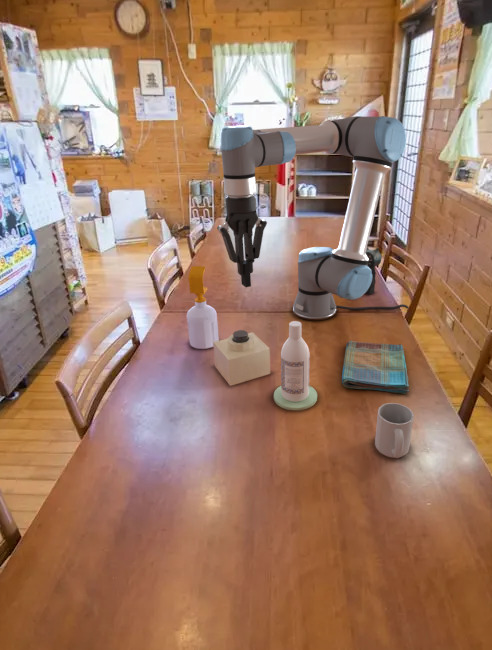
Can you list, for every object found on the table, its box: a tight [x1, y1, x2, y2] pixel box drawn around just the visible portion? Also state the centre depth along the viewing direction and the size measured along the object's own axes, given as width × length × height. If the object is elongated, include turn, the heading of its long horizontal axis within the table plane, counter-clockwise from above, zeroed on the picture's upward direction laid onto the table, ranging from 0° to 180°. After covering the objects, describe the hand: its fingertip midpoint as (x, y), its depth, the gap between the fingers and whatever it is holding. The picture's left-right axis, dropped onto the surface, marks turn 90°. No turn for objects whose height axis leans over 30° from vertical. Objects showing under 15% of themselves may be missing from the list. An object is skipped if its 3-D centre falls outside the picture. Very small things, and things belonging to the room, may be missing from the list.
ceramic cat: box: [365, 246, 382, 295], centre depth 176 cm, size 20×6×20 cm, turn 46°
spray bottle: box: [186, 265, 220, 350], centre depth 136 cm, size 9×9×25 cm
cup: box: [374, 402, 415, 459], centre depth 95 cm, size 7×10×9 cm
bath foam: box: [280, 320, 311, 402], centre depth 110 cm, size 7×7×20 cm
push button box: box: [213, 331, 271, 387], centre depth 125 cm, size 12×11×10 cm
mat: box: [273, 385, 318, 412], centre depth 115 cm, size 11×11×1 cm
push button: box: [232, 329, 249, 343], centre depth 122 cm, size 4×4×2 cm
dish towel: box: [341, 340, 410, 395], centre depth 126 cm, size 17×23×2 cm
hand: (246, 285), depth 120 cm, fingers closed
